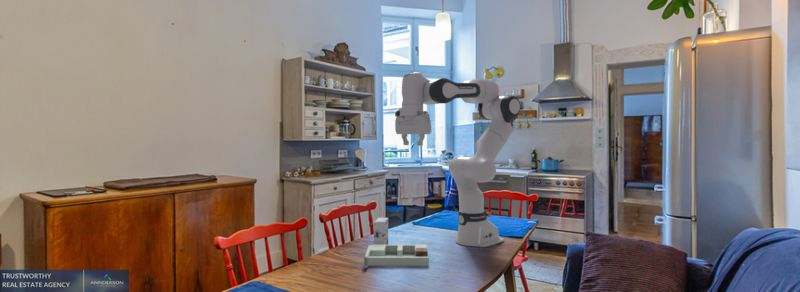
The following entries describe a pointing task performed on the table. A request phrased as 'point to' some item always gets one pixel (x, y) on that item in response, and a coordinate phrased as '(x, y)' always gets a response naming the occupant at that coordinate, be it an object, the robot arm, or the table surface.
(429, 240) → the table surface
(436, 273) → the table surface
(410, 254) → the tray
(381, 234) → the ink box
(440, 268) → the table surface
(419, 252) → the block
